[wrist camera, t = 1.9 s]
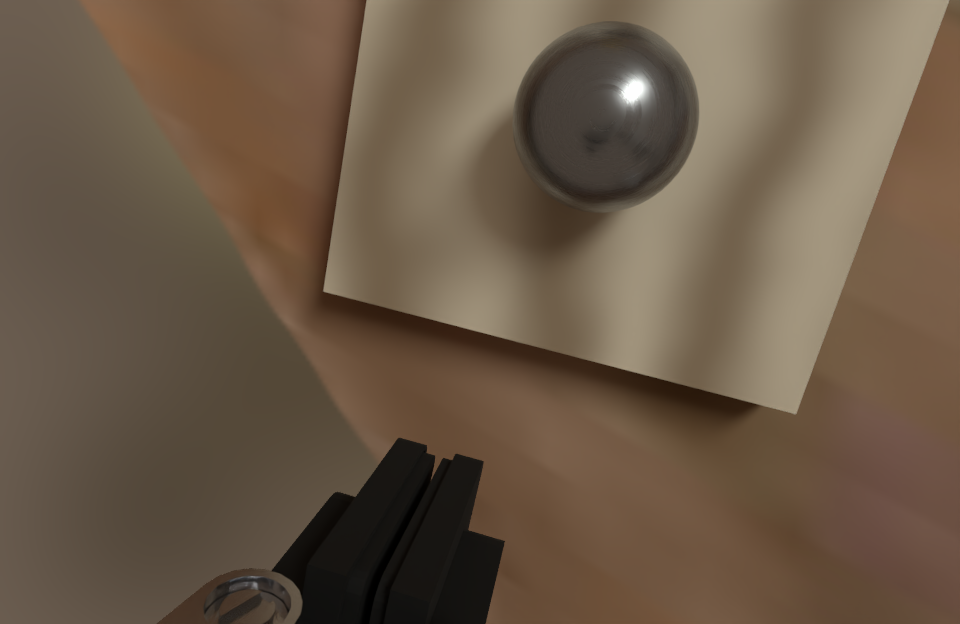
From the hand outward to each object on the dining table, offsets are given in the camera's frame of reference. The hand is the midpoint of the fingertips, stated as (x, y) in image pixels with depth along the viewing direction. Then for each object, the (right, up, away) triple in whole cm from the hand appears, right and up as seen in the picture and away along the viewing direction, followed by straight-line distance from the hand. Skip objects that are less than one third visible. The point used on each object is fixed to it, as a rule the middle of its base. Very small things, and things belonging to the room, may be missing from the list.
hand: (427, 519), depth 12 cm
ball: (+5, +10, +9) cm, 14 cm away
